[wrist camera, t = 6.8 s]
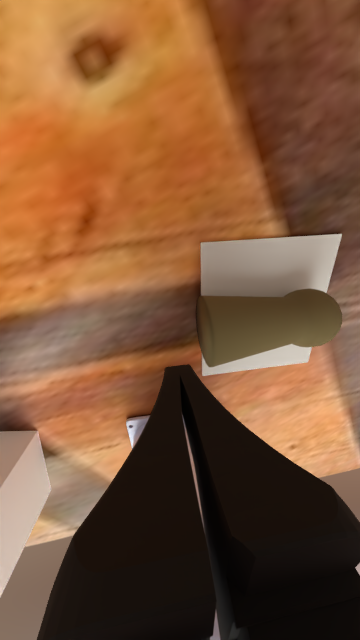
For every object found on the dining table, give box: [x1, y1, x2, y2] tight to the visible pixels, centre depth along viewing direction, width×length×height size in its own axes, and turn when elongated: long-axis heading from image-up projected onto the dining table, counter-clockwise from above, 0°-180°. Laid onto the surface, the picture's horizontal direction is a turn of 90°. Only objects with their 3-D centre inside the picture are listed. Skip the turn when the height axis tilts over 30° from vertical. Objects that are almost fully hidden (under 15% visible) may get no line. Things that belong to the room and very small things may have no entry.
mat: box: [200, 234, 342, 376], centre depth 18 cm, size 14×13×1 cm
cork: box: [196, 288, 342, 367], centre depth 16 cm, size 6×6×11 cm
